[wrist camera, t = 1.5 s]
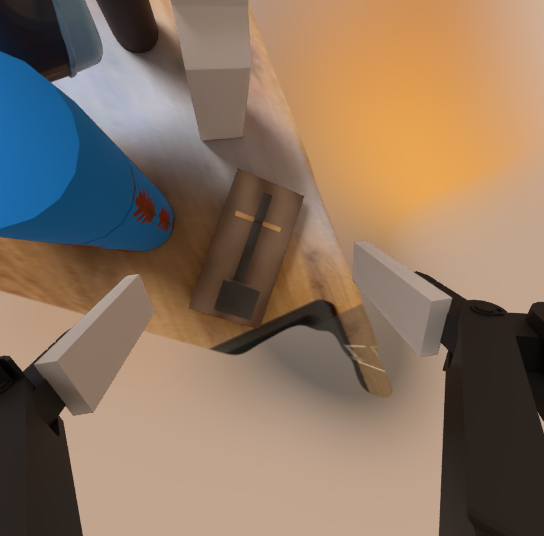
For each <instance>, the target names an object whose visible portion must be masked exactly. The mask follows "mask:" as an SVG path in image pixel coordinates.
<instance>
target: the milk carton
mask: <svg viewBox="0 0 544 536" xmlns="http://www.w3.org/2000/svg"><path fill="white" fill-rule="evenodd" d="M171 3H172V8H173V13H174V18H175V23H176V27H177V32H178V37H179V42H180V47H181V52H182V57H183V62H184V66H185V71H186V75H187V80H188V84H189V89H190V93H191V98H192V102H193V106H194V111H195V115H196V120H197V124H198V129H199V133H200V137H201V140H215V139H227V138H238V137H243V131H244V122H245V114H246V106H247V97H248V89H249V80H250V72H251V53H250V35H249V16H248V0H171Z"/></svg>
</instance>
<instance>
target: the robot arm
mask: <svg viewBox="0 0 544 536" xmlns="http://www.w3.org/2000/svg"><path fill="white" fill-rule="evenodd" d="M0 51H1V52H3V53H5V54H8V55H10V56H12V57H15V58H17V59H20V60H22V61H24V62H26V63H27V64H28V65H30V66H31V67H32V68H33V69H35V70H36V71H37V72H38V73H39V74H41V75H42V76H43V77H44V78H46V79H47V80H48V81H49V82H53V81H56V80H59V79H62V78H64V77H67V76H69V77H71V78H72V77H74V76H75V75H76V74H77V72H80V71H82V70H84V69H87V68H89V67H91V66H94V65H96V64H98V63H99V62H100V60H101V58H102V54H103V47H102V42H101V39H100V36H99V33H98V31H97V28H96V26H95V23H94V21H93V18H92V16H91V14H90V11H89V9H88V7H87V4H86V2H85V0H0ZM353 265H354V266H353V282H354V283H355V284H356V285H357V286H358V287H359V289H360V290H361V291H362V292H363V293H364V294H365V295H366V297H367V298H368V299H369V300H370V301H371V302H372V303H373V305H374V306H375V307H376V308H377V309H378V310H379V311H380V313H381V314H383V316H384V317H385V318H386V319H387V321H389V323H390V324H391V325H392V326H393V327H394V328H395V330H396V331H397V332H398V333H399V334H400V335H401V337H402V338H403V339H404V340H405V341H406V342H407V343H408V345H409V346H410V347H411V348H412V349H413V350H414V351H415V353H416V354H417V355H418V356H419V357H425V356H431V355H437V354H438V351H439V348H440V343H442V344H443V345H444V346H445V347H446V348H447V349H448V353H447V356H446V360H445V363H444V367H443V371H446V379H445V403H444V428H443V453H442V475H441V501H440V523H439V524H440V525H439V536H544V433H543V429H542V425H541V422H540V419H539V415H540V416H541V418H542V420H543V421H544V302H537V303H533V304H532V306H531V308H530V310H529V312H528V314H524V313H507V311H506V310H504V309H503V308H501V307H499V306H498V305H495V304H492V303H489V302H486V301H481V300H466V299H465V298H463V297H461V296H460V295H458V294H457V293H455V292H454V291H452V290H450V289H449V288H447V287H446V286H444V285H442V284H441V283H439V282H437V281H436V280H435V279H433V278H432V277H430V276H428V275H426V274H423V273H420V272H417V271H416V272H413V271H411V270H410V269H408V268H407V267H405V266H404V265H402V264H401V263H399V262H398V261H396V260H395V259H393V258H392V257H390V256H389V255H387V254H386V253H384V252H383V251H382V250H380V249H379V248H377V247H376V246H374V245H372V244H371V243H369V242H368V241H366V240H365V241H358V242H354V264H353ZM154 312H155V310H154V308H153V306H152V303H151V301H150V298H149V296H148V293H147V291H146V289H145V286H144V284H143V281H142V279H141V276H140V274H135V275H128V276H126V277H125V278H124V279H123V280H121V281H120V282H119V283H118V284H117V285H116V286H115V287H114V288H113V289H112V290H111V291H110V292H109V293H108V294H107V295H106V296H105V297H104V298H103V299H102V300H101V301H100V302H98V303H97V304H96V305H95V306H94V307H93V308H92V309H91V310H90V311H89V312H88V313H87V314H86V315H85V316H84V317H83V318H82V319H81V320H80V321H79V322H78V323H77V324H75V325H74V326H73V327H72V328H71V329H69V330H68V331H66V332H65V333H64V334H63V335H61V336H60V337H59V338H58V339H57V340H56V342H55V343H53V344H52V345H51V346H50V347H49V348H48V350H46V351H44V352H43V354H41V355H40V356H39V357H38V358H37V359H36V360H35V361H34V362H33V363H32V364H31V365H30V366H29V367H27V368H26V369H25V370H24V371H23V372H22V370H21V369H20V368H19V367H18V366H17V365H16V363H15V362H14V361H13V360H12V358H11V357H10V356H1V357H0V536H83V534H82V528H81V523H80V516H79V510H78V505H77V499H76V493H75V487H74V482H73V475H72V470H71V464H70V458H69V452H68V446H67V441H66V435H65V429H64V423H63V420H62V419H61V418H60V416H59V414H60V412H61V411H62V410H63V409H64V407H65V406H66V407H67V408H68V409H69V411H70V412H71V413H72V415H73V416H75V415H81V414H87V413H93V412H94V411H95V409H96V407H97V405H98V404H99V402H100V401H101V399H102V398H103V396H104V394H105V393H106V391H107V389H108V388H109V386H110V384H111V383H112V381H113V380H114V378H115V376H116V374H117V373H118V371H119V369H120V368H121V366H122V365H123V363H124V361H125V360H126V358H127V356H128V355H129V353H130V352H131V350H132V348H133V347H134V345H135V343H136V342H137V340H138V339H139V337H140V335H141V334H142V332H143V330H144V329H145V327H146V325H147V324H148V322H149V320H150V319H151V317H152V316H153V314H154ZM537 411H538V412H537ZM538 413H539V415H538Z"/></svg>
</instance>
